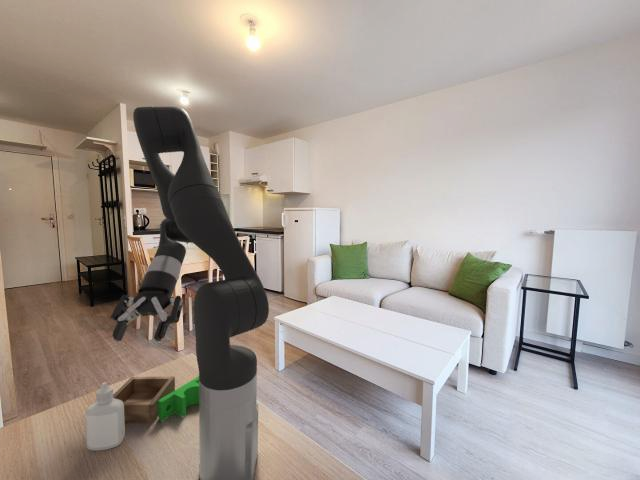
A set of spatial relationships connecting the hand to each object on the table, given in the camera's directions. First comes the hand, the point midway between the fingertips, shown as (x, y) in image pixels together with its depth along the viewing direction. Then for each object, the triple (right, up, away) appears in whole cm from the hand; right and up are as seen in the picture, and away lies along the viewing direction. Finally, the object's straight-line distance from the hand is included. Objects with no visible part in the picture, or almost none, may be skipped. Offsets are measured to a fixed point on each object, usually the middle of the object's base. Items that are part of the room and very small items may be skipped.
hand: (137, 339), depth 61 cm
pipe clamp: (+10, -16, +1) cm, 19 cm away
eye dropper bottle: (0, -16, -9) cm, 19 cm away
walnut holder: (0, -15, +1) cm, 15 cm away
